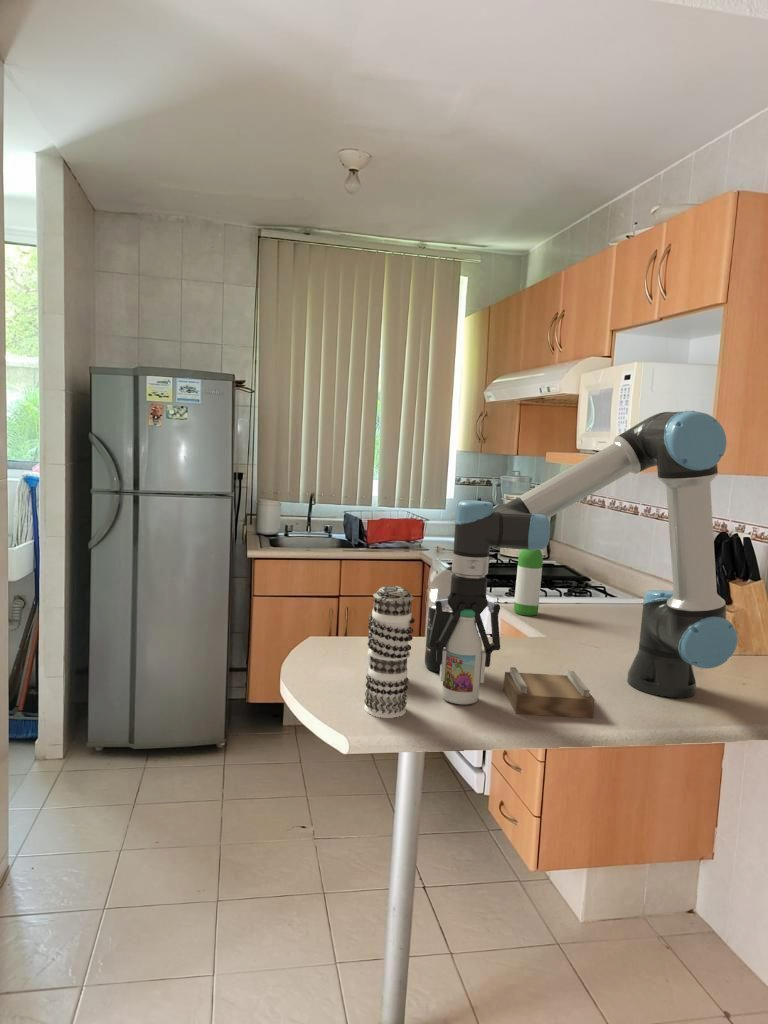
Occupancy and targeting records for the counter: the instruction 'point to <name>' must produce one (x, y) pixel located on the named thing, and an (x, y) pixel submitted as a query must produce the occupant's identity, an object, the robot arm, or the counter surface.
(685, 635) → the robot arm
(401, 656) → the decorative candle
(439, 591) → the black water bottle
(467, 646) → the milk bottle
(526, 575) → the wine bottle
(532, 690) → the display riser
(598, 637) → the counter surface
